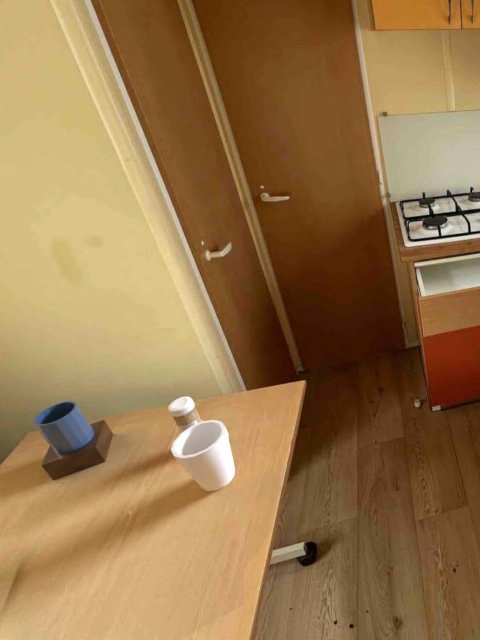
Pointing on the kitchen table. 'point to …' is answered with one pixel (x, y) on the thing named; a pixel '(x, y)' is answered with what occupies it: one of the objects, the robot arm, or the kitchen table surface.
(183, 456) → the foam cup
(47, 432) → the cup
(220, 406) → the kitchen table surface
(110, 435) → the block
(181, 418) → the sprinkles bottle
